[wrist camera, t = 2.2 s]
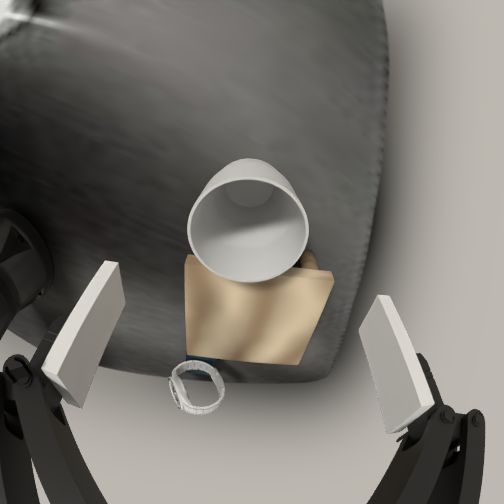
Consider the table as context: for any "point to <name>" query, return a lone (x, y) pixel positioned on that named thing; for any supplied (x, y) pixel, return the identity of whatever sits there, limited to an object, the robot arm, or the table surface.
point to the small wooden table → (254, 313)
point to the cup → (248, 223)
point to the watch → (198, 367)
